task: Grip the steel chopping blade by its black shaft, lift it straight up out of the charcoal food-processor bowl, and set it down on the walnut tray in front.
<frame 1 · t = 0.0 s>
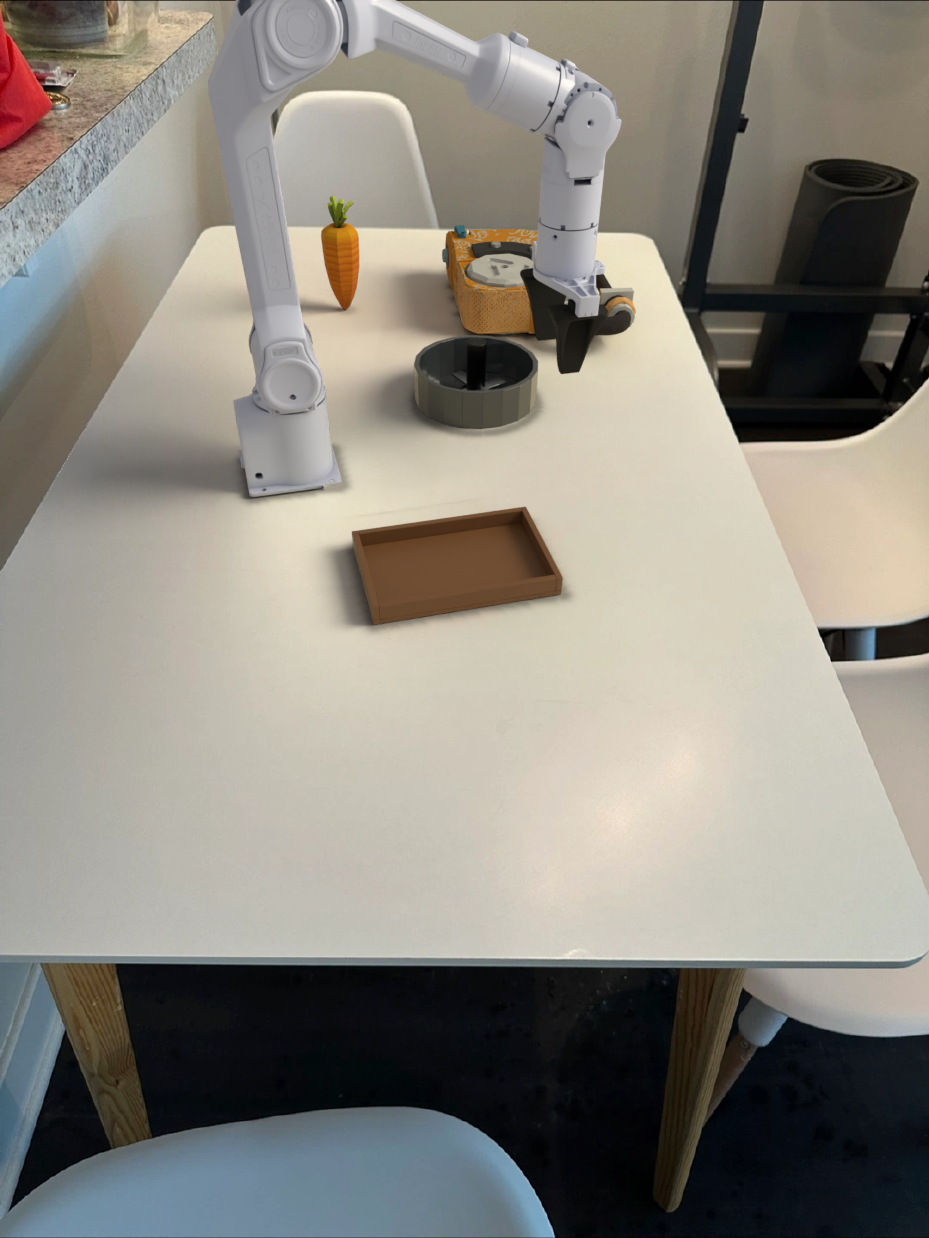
hand: (557, 354, 95), 10 cm above the table, tool pointing down, fingers open, 7 cm apart
blade: (475, 397, 108), point 1 cm above the table, touching processor bowl
carrot: (345, 311, 127), on the table
device: (532, 314, 127), on the table
tray: (454, 570, 85), on the table
processor bowl: (475, 401, 108), on the table
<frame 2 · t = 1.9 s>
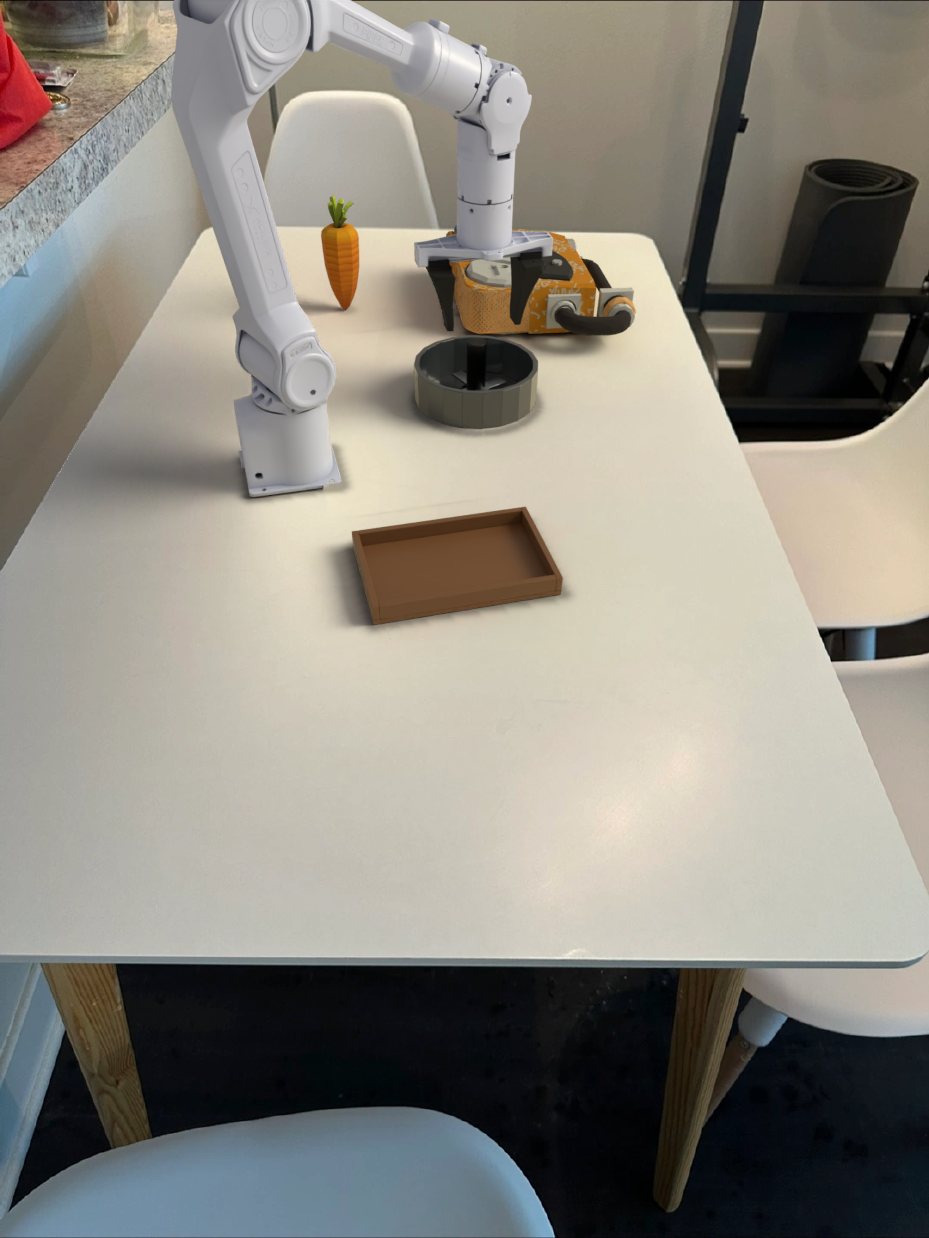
hand: (482, 324, 101), 10 cm above the table, tool pointing down, fingers open, 7 cm apart
nothing on the table moved.
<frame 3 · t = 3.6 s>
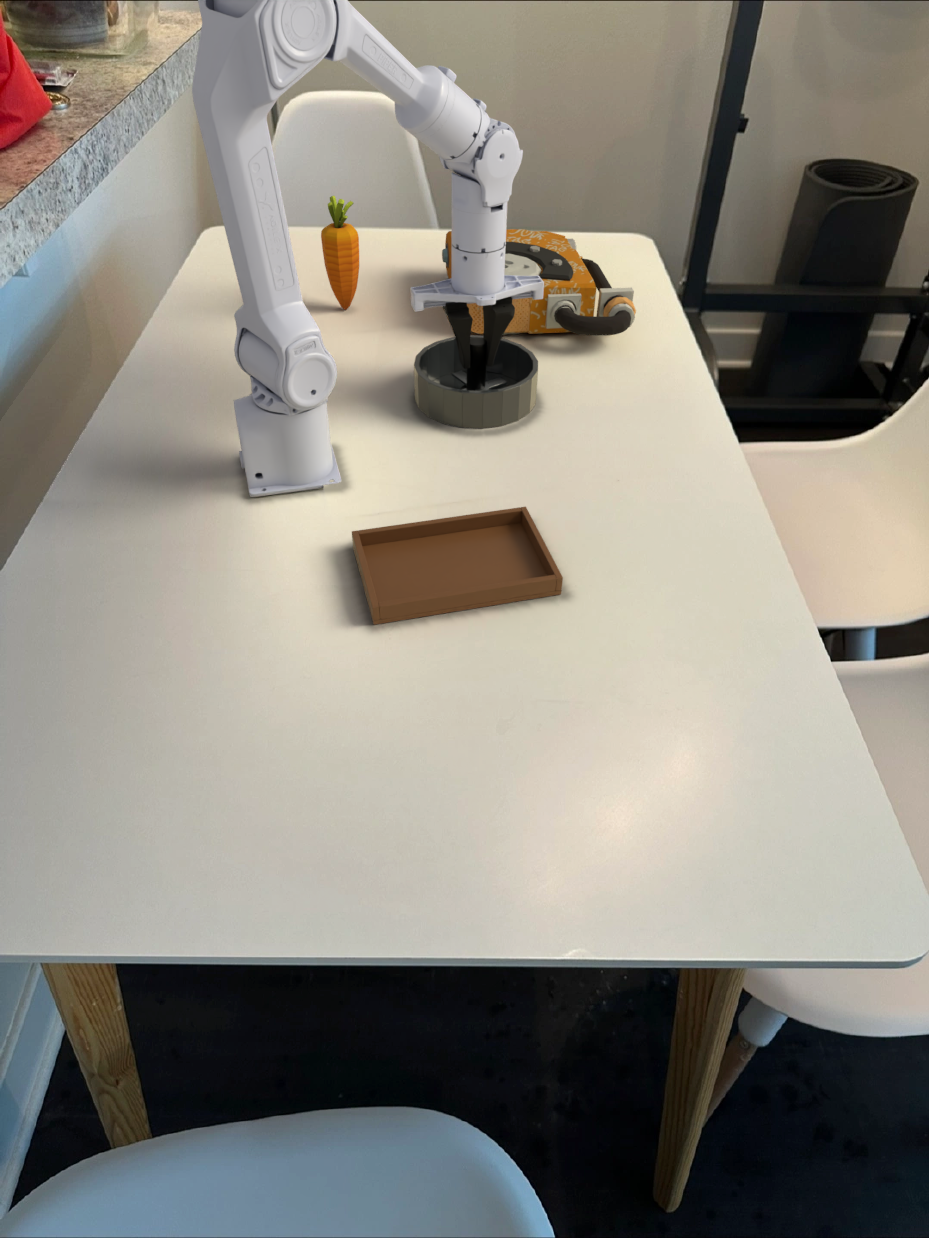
hand: (476, 363, 105), 5 cm above the table, tool pointing down, fingers closed on blade, 2 cm apart
blade: (475, 397, 108), point 1 cm above the table, touching gripper, processor bowl
everything else where it was.
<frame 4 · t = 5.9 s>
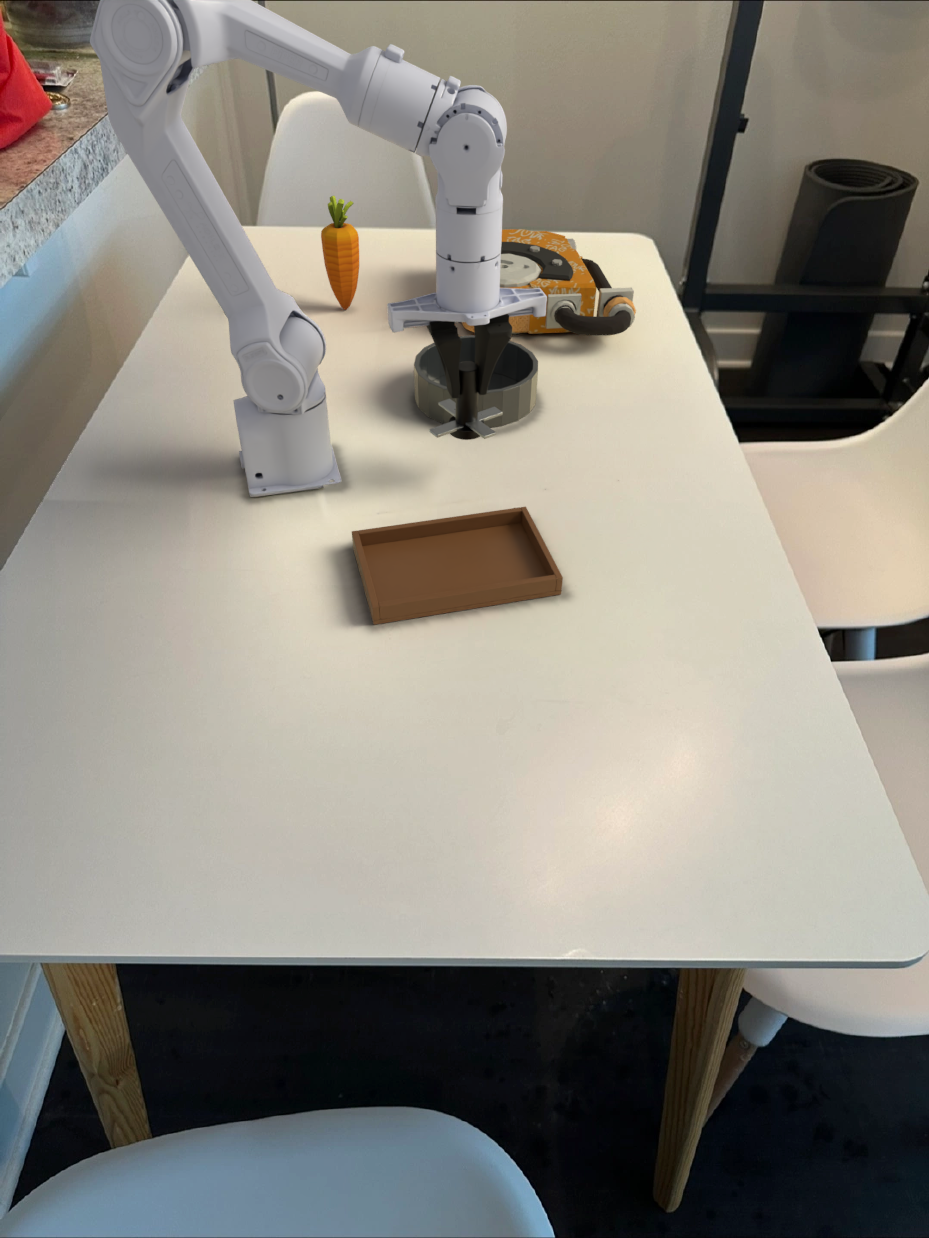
hand: (466, 391, 89), 10 cm above the table, tool pointing down, fingers closed on blade, 2 cm apart
blade: (466, 430, 92), point 6 cm above the table, touching gripper
everything else where it was.
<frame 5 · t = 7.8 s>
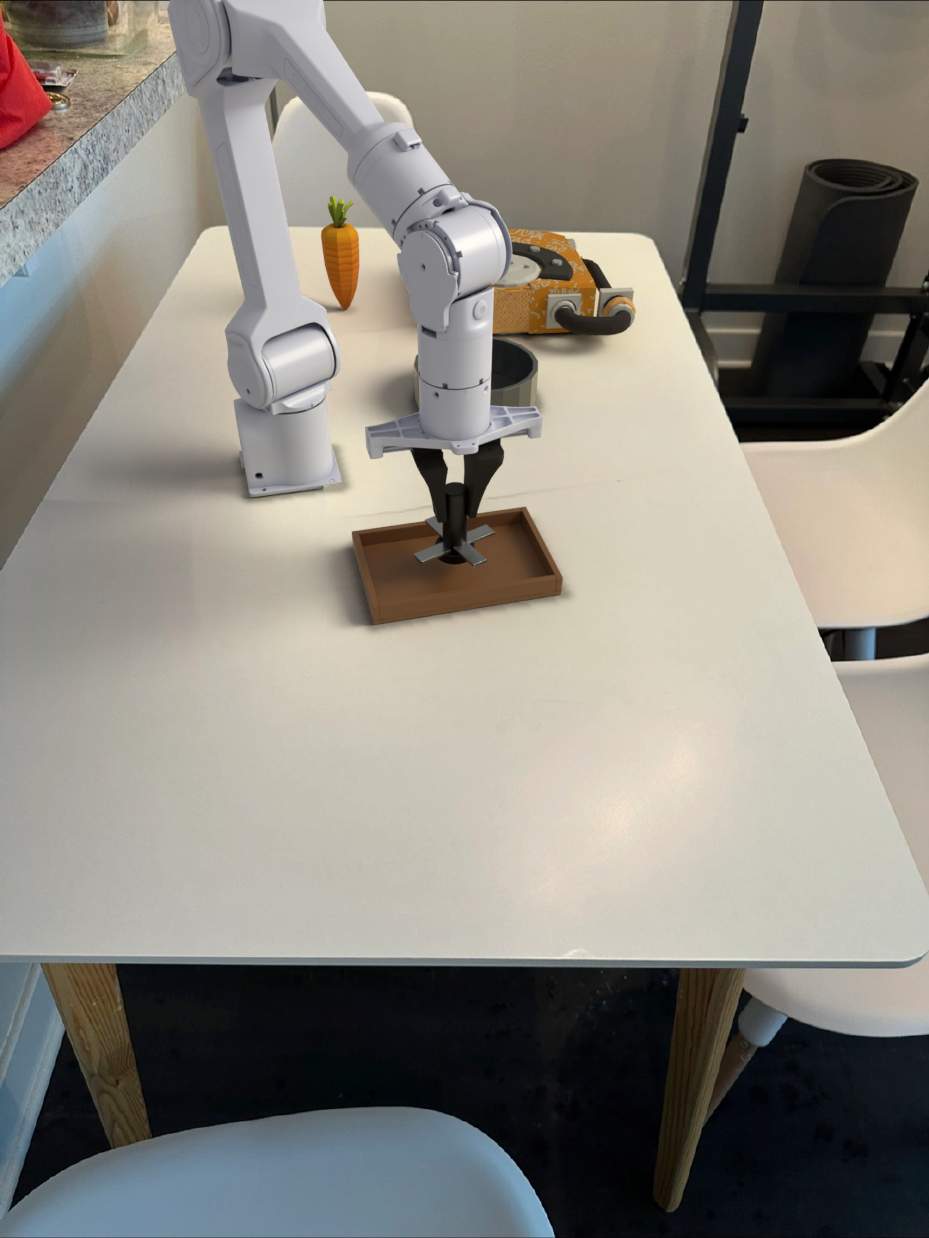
hand: (454, 514, 81), 6 cm above the table, tool pointing down, fingers closed on blade, 2 cm apart
blade: (454, 552, 83), point 2 cm above the table, touching gripper
everything else where it was.
when the fingers open (5 cm above the table, at t = 8.6 s): blade stays where it is, resting on tray.
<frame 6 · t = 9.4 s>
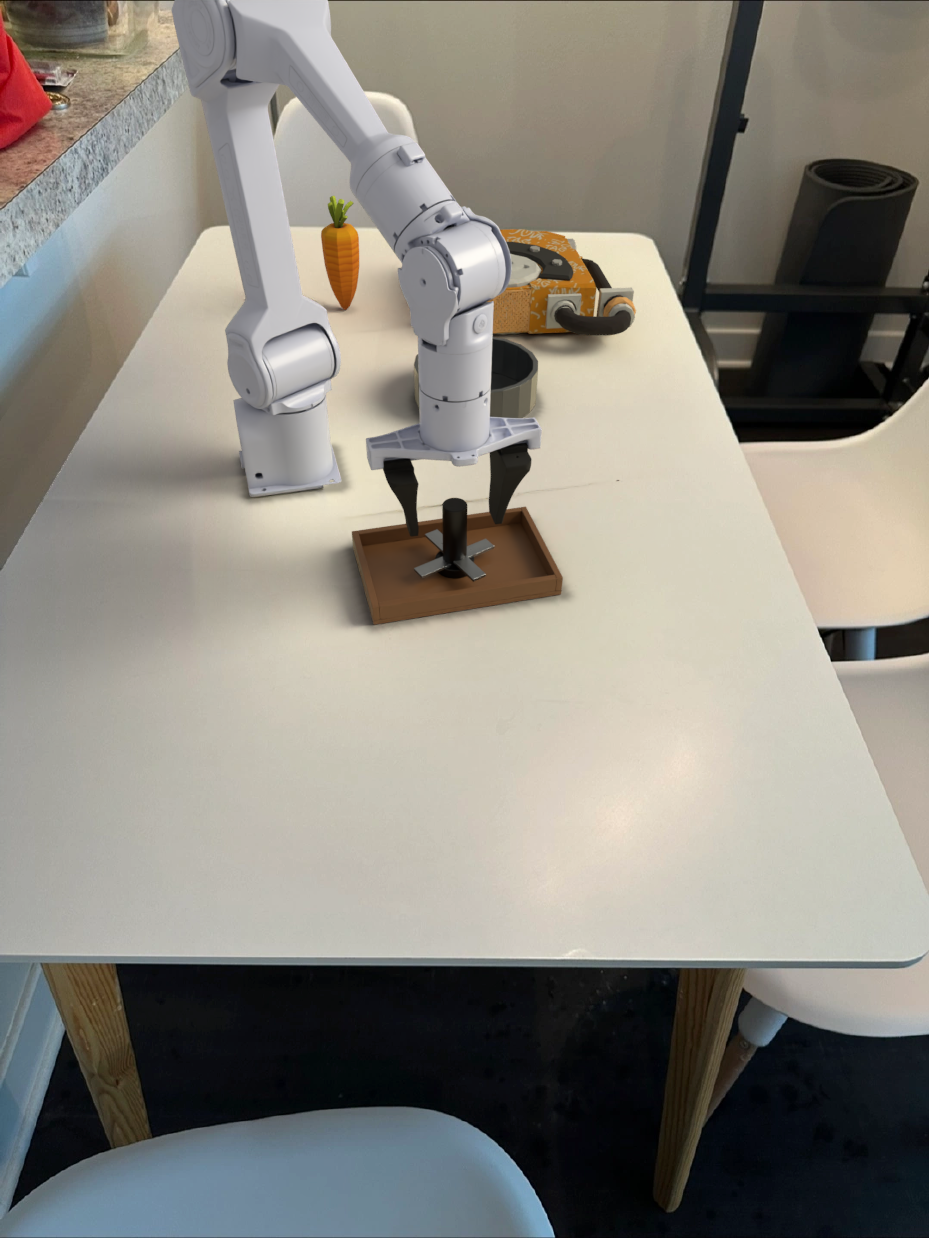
hand: (454, 523, 81), 5 cm above the table, tool pointing down, fingers open, 7 cm apart
blade: (454, 566, 85), resting on tray
everything else where it was.
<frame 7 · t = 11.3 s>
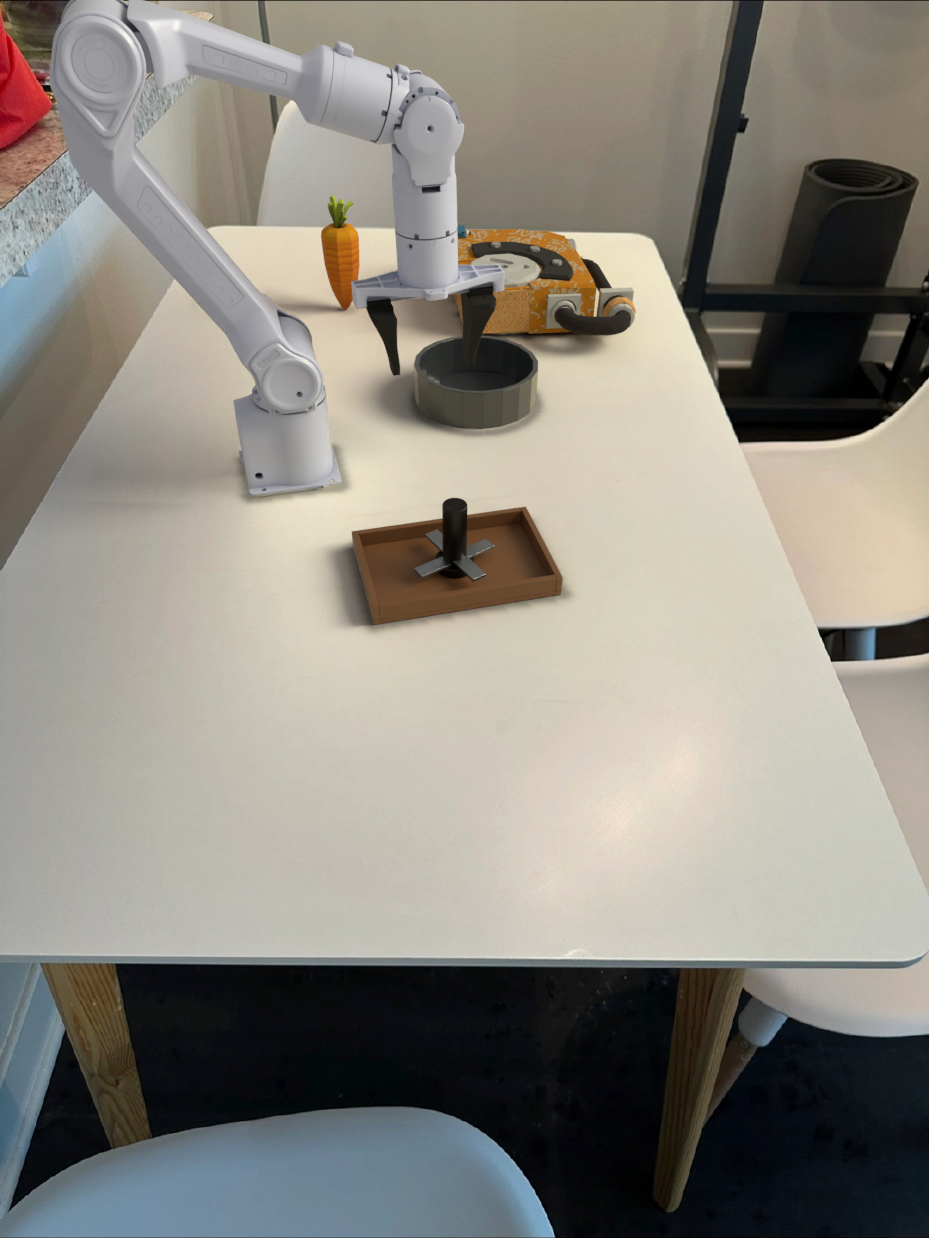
hand: (432, 366, 93), 10 cm above the table, tool pointing down, fingers open, 7 cm apart
nothing on the table moved.
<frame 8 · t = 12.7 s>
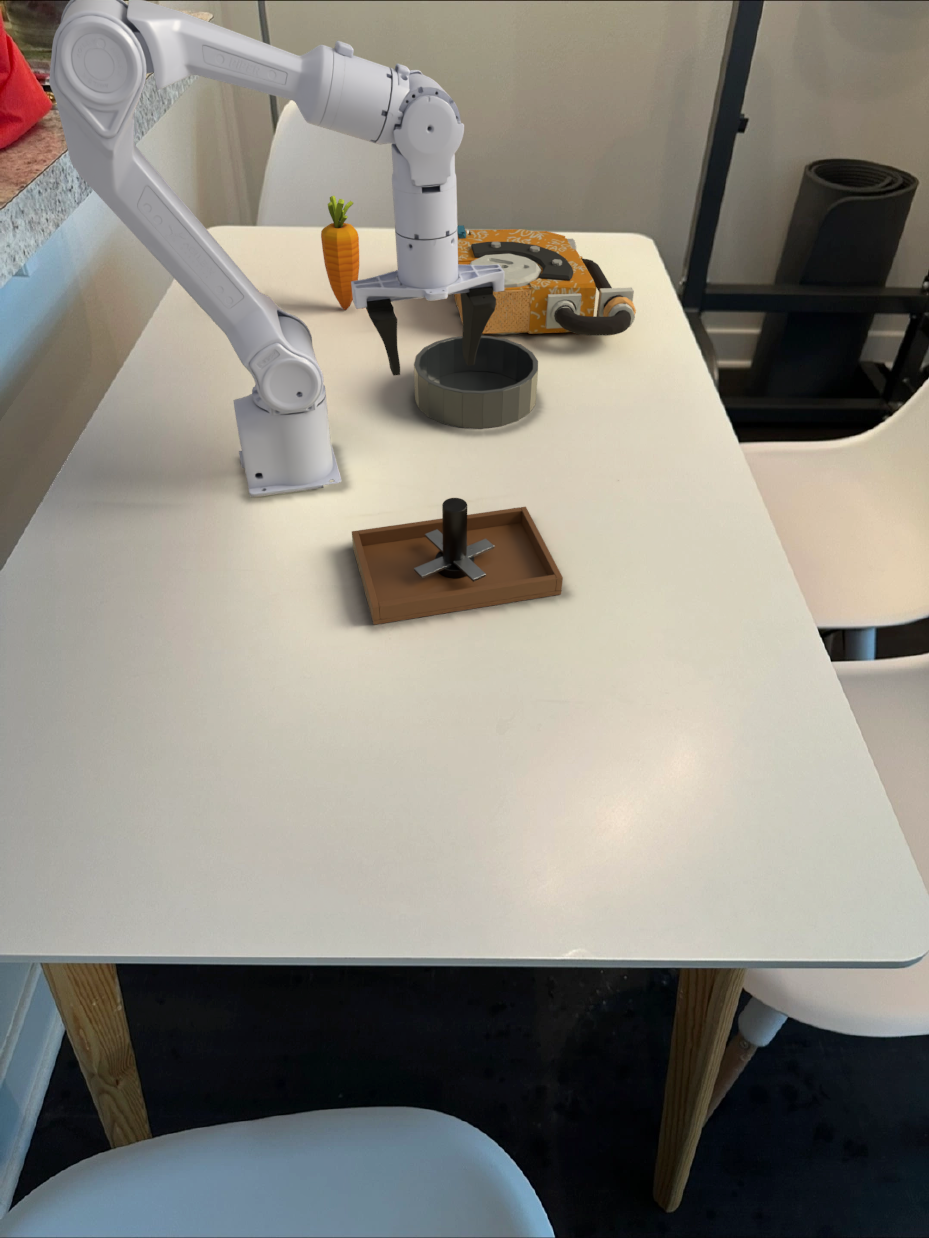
hand: (432, 366, 93), 10 cm above the table, tool pointing down, fingers open, 7 cm apart
nothing on the table moved.
at the end: blade inside the target area in the tray (0.0 cm from its centre), point 0.5 cm above the tray's base; the gripper is holding nothing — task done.
